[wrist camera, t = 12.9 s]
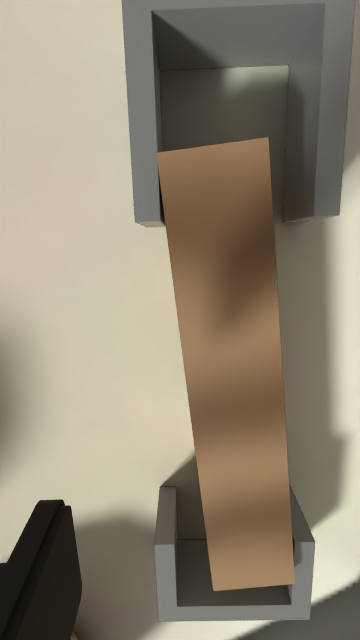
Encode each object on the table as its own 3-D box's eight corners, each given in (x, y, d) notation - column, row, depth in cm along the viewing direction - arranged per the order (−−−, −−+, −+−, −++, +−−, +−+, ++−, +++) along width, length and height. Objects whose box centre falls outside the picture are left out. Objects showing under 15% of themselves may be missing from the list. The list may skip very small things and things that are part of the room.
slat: (164, 179, 17) (156, 152, 12) (243, 168, 16) (268, 136, 12) (206, 510, 21) (213, 591, 16) (268, 504, 21) (295, 583, 16)
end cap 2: (159, 486, 20) (154, 544, 16) (289, 484, 20) (315, 541, 16) (163, 552, 21) (158, 621, 18) (286, 550, 21) (309, 619, 17)
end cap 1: (136, 46, 15) (120, -24, 11) (311, 38, 15) (357, -34, 11) (146, 227, 17) (134, 222, 13) (302, 222, 17) (339, 215, 13)
